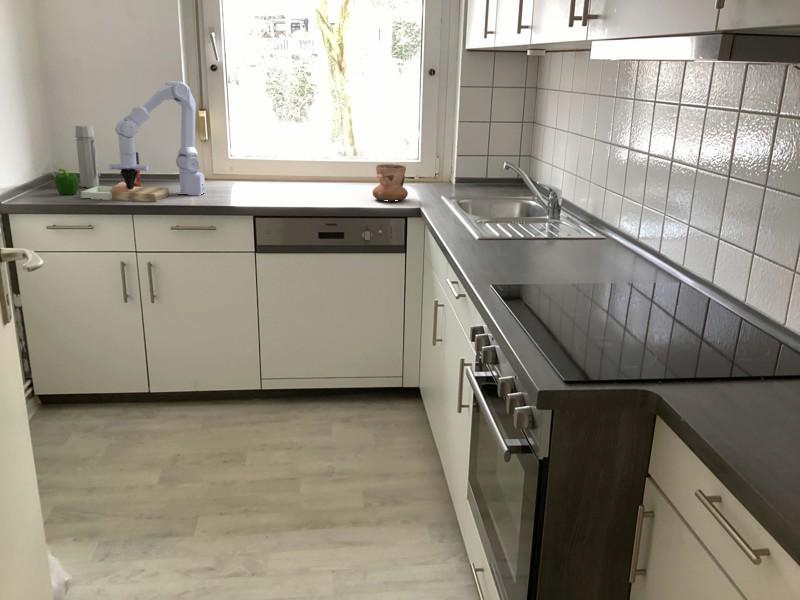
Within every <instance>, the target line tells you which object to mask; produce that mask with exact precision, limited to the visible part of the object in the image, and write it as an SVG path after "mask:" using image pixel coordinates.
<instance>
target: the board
mask: <svg viewBox="0 0 800 600" xmlns="http://www.w3.org/2000/svg"><path fill="white" fill-rule="evenodd" d="M168 195H169V196H170V192H169V187H151V186H141V187H133V189H131V190H130V191H127V192H112V199H111V201H128V200H129V201H132V202H133V201H134V202H149V201H154V202H155V203H156V201H157V202H158V200H159V201H160V199H161V200H163V199H165V198H167V197H169V196H168ZM166 196H167V197H166ZM164 197H165V198H164ZM162 198H163V199H162ZM154 202H153V203H154Z"/></svg>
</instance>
